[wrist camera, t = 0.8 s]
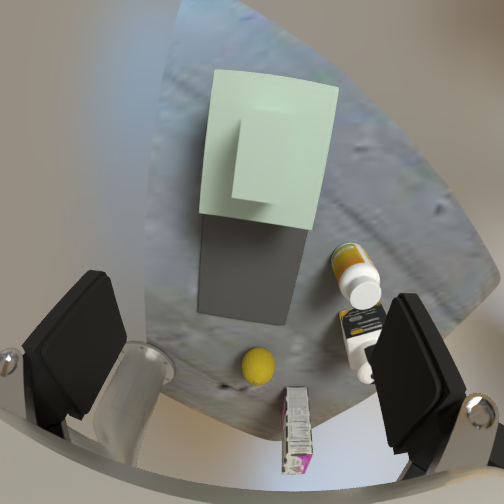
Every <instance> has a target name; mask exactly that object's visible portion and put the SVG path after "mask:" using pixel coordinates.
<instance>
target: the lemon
mask: <svg viewBox="0 0 504 504" xmlns="http://www.w3.org/2000/svg"><path fill="white" fill-rule="evenodd" d="M274 370H275V361H274V357H273V355H272V354H271V353H270V352H269V351H268V350H267V349H265V348H260V347H257V348H253V349H251V350H249V351H248V352H247V353H246V354H245V356H244V358H243V361H242V372H243V376H244V378H245V379H246V380H247V381H248V382H249V383H251V384H253V385H263V384H265V383H267V382H268V381H269V380H270V379H271V378H272V376H273V374H274Z"/></svg>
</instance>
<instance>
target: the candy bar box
mask: <svg viewBox="0 0 504 504" xmlns="http://www.w3.org/2000/svg"><path fill="white" fill-rule="evenodd" d="M312 450H313V449H312V434H311V422H310V409H309V397H308V387H285V394H284V402H283V409H282V474H304V473H305V471H306V469H307V467H308V464H309V462H310V460H311V457H312V455H313V451H312Z"/></svg>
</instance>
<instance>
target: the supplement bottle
mask: <svg viewBox="0 0 504 504" xmlns="http://www.w3.org/2000/svg"><path fill="white" fill-rule="evenodd" d="M331 265H332V268H333V271H334V274H335V277H336V280H337V283H338V286H339V289H340V291H341V293H342V295H343V296H344V297H345V298H346V299H348V300H350V303H351V305H352V306H353V307H354V308H356V309H360V310H365V309H369V308H371V307H373V306H374V305H375V304H376V303H377V302H378V301H379V299H380V297H381V289H380V287H379V284H380V277H379V274H378V272H377V270H376V268H375V266H374V265H373V263H372V262H371V260H370V258H369V257H368V255H367V253H366V252H365V250H364V249H363V248H362V247H361V246H360V245H358V244H356V243H346V244H343V245H341V246H339V247H338V248H337V249H336V250H335V251H334V253H333V255H332V258H331Z"/></svg>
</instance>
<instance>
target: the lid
mask: <svg viewBox="0 0 504 504" xmlns="http://www.w3.org/2000/svg"><path fill="white" fill-rule="evenodd" d="M338 91H339V88H338V87H333V86H329V85H325V84H320V83H315V82H311V81H306V80H300V79H295V78H289V77H283V76H276V75H269V74H261V73H253V72H243V71H232V70H217V69H215V73H214V79H213V86H212V93H211V101H210V108H209V116H208V125H207V133H206V142H205V151H204V161H203V171H202V182H201V194H200V206H199V213H203V214H210V215H217V216H224V217H231V218H238V219H245V220H251V221H258V222H264V223H270V224H277V225H283V226H289V227H295V228H301V229H307V230H312V227H313V223H314V218H315V214H316V209H317V204H318V200H319V195H320V190H321V185H322V181H323V176H324V171H325V165H326V160H327V155H328V150H329V144H330V139H331V133H332V128H333V122H334V116H335V110H336V104H337V97H338Z"/></svg>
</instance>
